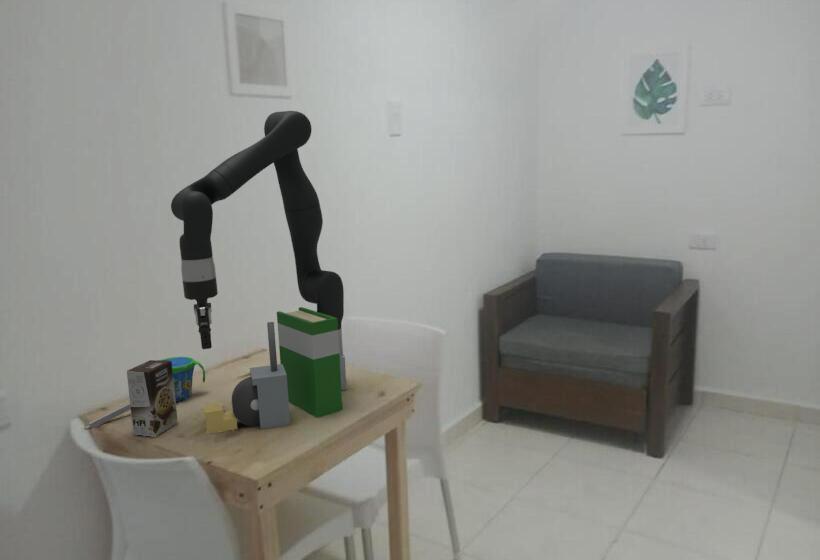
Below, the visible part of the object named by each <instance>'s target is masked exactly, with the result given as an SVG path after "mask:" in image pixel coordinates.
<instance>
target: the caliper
mask: <svg viewBox="0 0 820 560" xmlns="http://www.w3.org/2000/svg"><path fill="white" fill-rule="evenodd" d="M128 411H131V406H130V402H128V403H126V404H124V405H122V406H120V407H118V408H116V409H114V410H112V411H109V412H107V413H106V414H104V415H102V416H100V417H98V418H95V419H94V420H91V421H90V422H88V425H85V426H84V428H83V429H84V430H85V431H87V430H89V429H93V428H96V427H100V426H101V425H102V424H103V425H104V424H105V423H107V422H109V421H110V420H112V419H115V418H116V417H119V416H120V415H123V414H124V413H127V412H128Z"/></svg>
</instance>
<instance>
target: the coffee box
mask: <svg viewBox="0 0 820 560" xmlns="http://www.w3.org/2000/svg"><path fill="white" fill-rule="evenodd" d="M126 377H127V378H126V379H127V386H128V387H127V388H128V394H129V395H128V396H129V403H130V406H131V410H130V413H131V415H130V417H131V423H132V434H136V435H135V436H137V435H143V436H142V437H146V436H151V437H150V438H156V437H155V436H157V435H158V436H159V434H160V433H161V434H163V433H164V432H166V431H168V430H169V429H171V428H172V427H174V426H175V425H177V424H178V423H179V421H178V413H177V412H178V410H177V403H176V402H177V401H176V400H175V390H174V380H173V371H172V361H166V360H163V359H160V360H159V359H157V360H155V359H154V360H152V359H150V360H148V361H145V362H143V363H141V364H139V365H136V366H134V367H133V368H129V369H128V370H126ZM173 425H174V426H173ZM170 427H171V428H170ZM168 428H169V429H168ZM165 430H166V431H165ZM162 432H163V433H162ZM161 434H160V435H161ZM158 436H157V437H158Z"/></svg>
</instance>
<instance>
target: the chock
mask: <svg viewBox="0 0 820 560" xmlns="http://www.w3.org/2000/svg"><path fill="white" fill-rule="evenodd" d="M204 417H205V429H206V434H207V433H211V434H215V433H214V432H218V433H220V432H219V431H225V432H227V431H226V430H232V431H235V430H234V429H237V430H238V421H237V420H238V419H237V418H236V417H235V415H234V412H233V410H232V411H225V412H224V410H223V403H222V402H220V403H219V402H218V403H211V404H205V405H204Z"/></svg>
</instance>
